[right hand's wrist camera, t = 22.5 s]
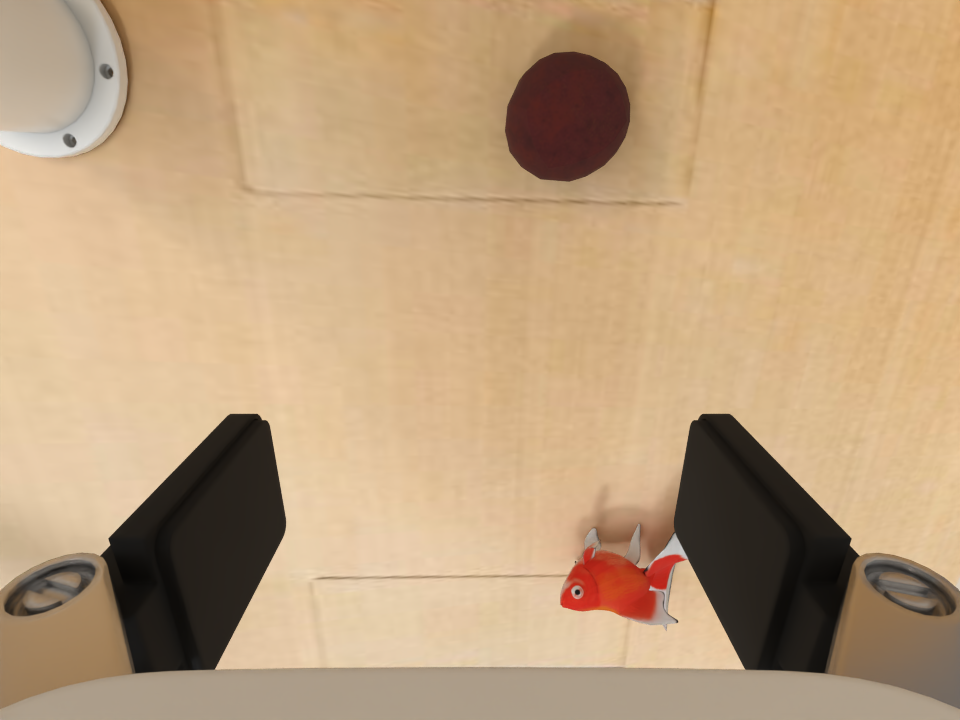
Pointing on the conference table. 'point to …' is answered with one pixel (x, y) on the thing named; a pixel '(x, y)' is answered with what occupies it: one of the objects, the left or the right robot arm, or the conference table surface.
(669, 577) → the fish
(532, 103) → the potato
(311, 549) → the conference table surface
